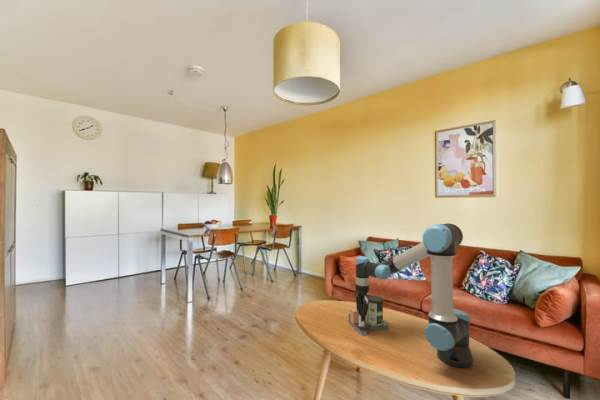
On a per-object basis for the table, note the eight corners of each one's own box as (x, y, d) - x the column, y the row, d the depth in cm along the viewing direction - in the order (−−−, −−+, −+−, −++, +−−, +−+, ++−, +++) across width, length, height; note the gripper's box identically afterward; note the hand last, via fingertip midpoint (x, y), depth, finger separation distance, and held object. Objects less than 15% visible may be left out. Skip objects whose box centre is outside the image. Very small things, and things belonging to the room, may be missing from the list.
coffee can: (380, 318, 171) (380, 295, 171) (385, 326, 161) (385, 301, 161) (363, 317, 172) (363, 295, 171) (367, 325, 161) (367, 301, 161)
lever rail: (366, 335, 154) (367, 326, 154) (361, 335, 153) (362, 326, 153) (353, 321, 171) (353, 313, 171) (348, 321, 170) (348, 313, 170)
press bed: (388, 328, 162) (388, 304, 162) (369, 331, 159) (370, 306, 159) (374, 317, 178) (374, 295, 177) (357, 319, 175) (357, 296, 174)
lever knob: (359, 322, 164) (359, 311, 164) (353, 323, 163) (353, 311, 163) (356, 320, 168) (356, 308, 168) (350, 320, 167) (350, 309, 167)
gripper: (374, 287, 152) (373, 330, 152) (362, 280, 165) (362, 320, 165) (361, 288, 150) (360, 332, 150) (351, 281, 163) (350, 321, 163)
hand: (361, 325), depth 158 cm, fingers closed
